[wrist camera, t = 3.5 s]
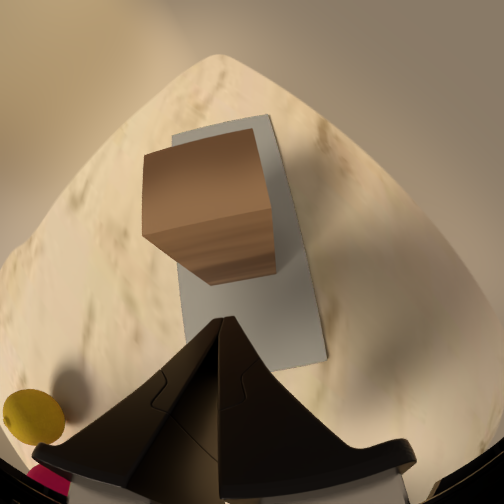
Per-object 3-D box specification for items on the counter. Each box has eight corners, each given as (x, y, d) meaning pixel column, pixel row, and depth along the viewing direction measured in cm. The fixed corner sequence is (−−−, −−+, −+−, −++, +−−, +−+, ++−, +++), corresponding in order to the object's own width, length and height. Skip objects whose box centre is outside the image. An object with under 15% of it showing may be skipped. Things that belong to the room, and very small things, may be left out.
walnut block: (276, 274, 20) (271, 208, 10) (210, 286, 20) (142, 235, 10) (266, 224, 21) (252, 127, 11) (204, 236, 22) (144, 155, 11)
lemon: (39, 403, 19) (-14, 409, 11) (56, 376, 19) (-3, 378, 12) (67, 444, 17) (15, 461, 10) (87, 420, 18) (29, 437, 10)
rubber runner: (326, 360, 18) (327, 360, 18) (193, 380, 19) (192, 381, 18) (268, 116, 25) (267, 114, 25) (172, 137, 26) (171, 135, 25)
